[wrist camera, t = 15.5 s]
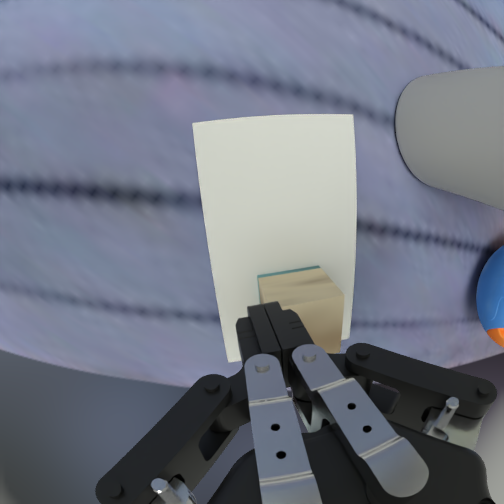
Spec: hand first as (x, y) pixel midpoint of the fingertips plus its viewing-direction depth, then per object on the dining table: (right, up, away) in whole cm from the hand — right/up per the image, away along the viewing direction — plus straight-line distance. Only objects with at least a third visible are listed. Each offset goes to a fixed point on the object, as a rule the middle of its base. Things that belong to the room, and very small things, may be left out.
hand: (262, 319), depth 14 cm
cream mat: (+3, +4, +13) cm, 14 cm away
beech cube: (+4, -3, +9) cm, 11 cm away
